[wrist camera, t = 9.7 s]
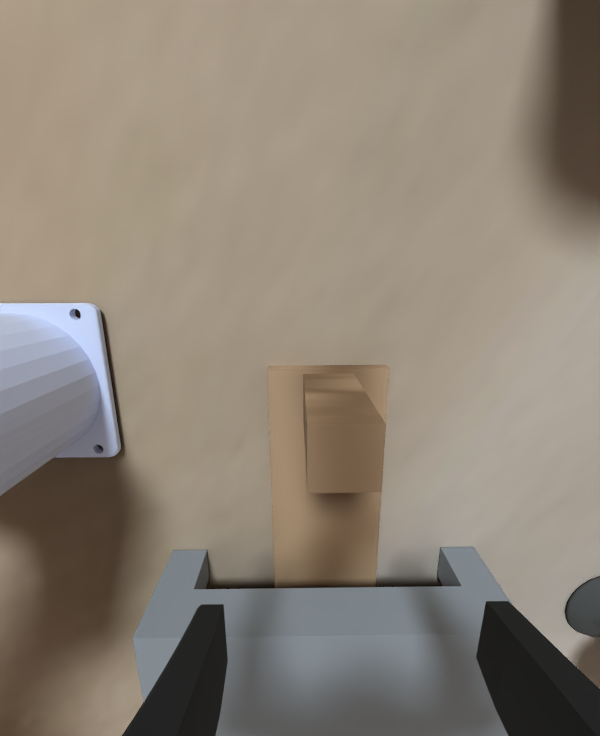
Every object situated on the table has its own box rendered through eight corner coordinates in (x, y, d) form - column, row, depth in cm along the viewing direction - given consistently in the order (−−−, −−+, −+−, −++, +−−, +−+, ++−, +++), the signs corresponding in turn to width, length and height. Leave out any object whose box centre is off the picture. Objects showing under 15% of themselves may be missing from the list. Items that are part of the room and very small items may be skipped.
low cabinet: (187, 669, 22) (156, 778, 17) (173, 550, 20) (132, 638, 15) (455, 665, 22) (499, 772, 17) (473, 547, 20) (531, 632, 15)
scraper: (278, 678, 22) (271, 842, 16) (269, 365, 17) (251, 417, 10) (366, 676, 22) (395, 839, 16) (384, 364, 17) (441, 415, 10)
